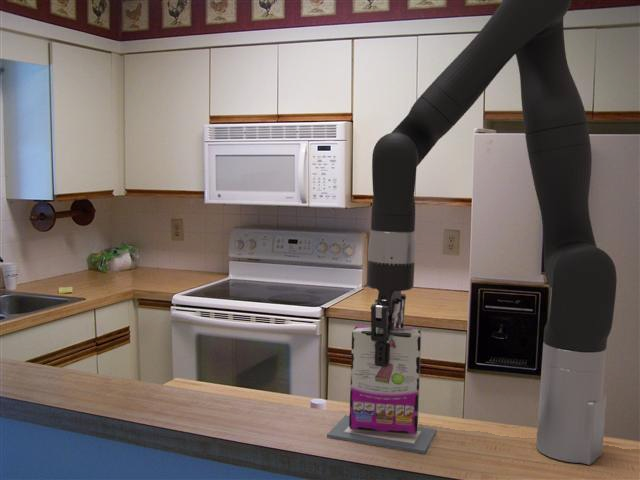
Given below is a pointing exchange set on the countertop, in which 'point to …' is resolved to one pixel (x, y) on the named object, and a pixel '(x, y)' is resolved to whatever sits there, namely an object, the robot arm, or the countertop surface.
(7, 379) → the countertop surface
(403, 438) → the card
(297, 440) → the countertop surface
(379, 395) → the candy bar box
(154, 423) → the countertop surface
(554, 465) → the countertop surface
